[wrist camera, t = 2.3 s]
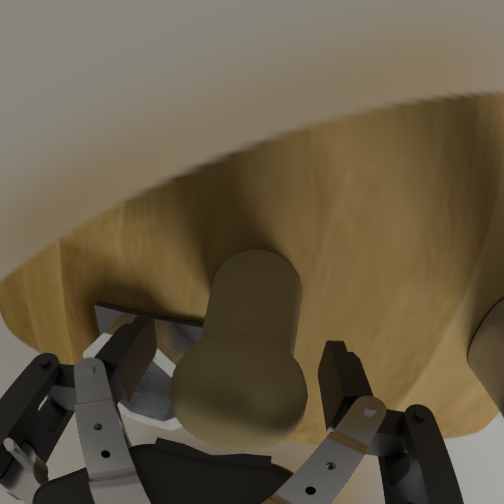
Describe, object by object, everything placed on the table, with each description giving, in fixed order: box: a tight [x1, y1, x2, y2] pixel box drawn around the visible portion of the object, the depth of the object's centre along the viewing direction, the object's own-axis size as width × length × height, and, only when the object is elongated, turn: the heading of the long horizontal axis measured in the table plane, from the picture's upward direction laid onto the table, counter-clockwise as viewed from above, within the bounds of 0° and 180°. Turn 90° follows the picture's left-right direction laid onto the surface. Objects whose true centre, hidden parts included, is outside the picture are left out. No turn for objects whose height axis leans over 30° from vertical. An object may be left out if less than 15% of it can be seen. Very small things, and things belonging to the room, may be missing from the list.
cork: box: [169, 249, 308, 451], centre depth 13 cm, size 6×6×11 cm
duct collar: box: [83, 302, 204, 430], centre depth 19 cm, size 10×10×4 cm
